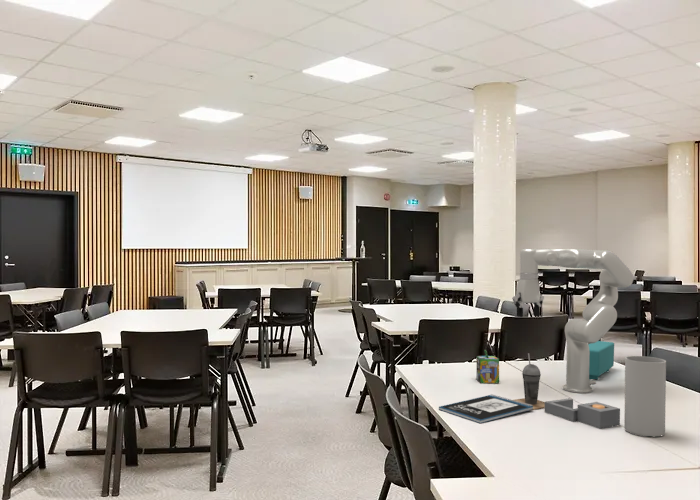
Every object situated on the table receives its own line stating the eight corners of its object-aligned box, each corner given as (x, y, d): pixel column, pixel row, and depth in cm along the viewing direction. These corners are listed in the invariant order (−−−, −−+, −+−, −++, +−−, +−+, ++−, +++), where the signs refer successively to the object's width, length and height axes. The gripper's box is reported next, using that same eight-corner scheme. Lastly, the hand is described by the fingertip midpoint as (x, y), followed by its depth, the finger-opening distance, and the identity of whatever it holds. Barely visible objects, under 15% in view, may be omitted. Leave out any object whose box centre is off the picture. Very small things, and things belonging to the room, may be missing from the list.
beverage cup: (541, 405, 232) (542, 355, 232) (522, 404, 233) (523, 354, 233) (539, 401, 239) (540, 352, 239) (520, 400, 241) (521, 351, 241)
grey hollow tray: (569, 408, 231) (569, 393, 231) (621, 425, 209) (621, 408, 209) (544, 412, 225) (544, 396, 225) (596, 429, 203) (596, 412, 203)
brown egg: (597, 414, 214) (597, 403, 214) (606, 417, 210) (607, 406, 210) (589, 416, 212) (590, 405, 212) (599, 419, 208) (599, 407, 208)
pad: (530, 398, 245) (530, 397, 245) (555, 406, 233) (555, 405, 233) (504, 402, 239) (504, 400, 239) (529, 410, 226) (529, 409, 226)
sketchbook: (438, 410, 226) (438, 404, 226) (491, 398, 243) (491, 393, 243) (480, 423, 209) (480, 417, 209) (534, 409, 226) (534, 404, 226)
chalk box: (499, 383, 272) (499, 352, 272) (479, 383, 272) (480, 351, 272) (495, 379, 281) (495, 348, 281) (475, 379, 282) (476, 348, 282)
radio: (593, 368, 312) (593, 340, 312) (614, 371, 306) (614, 342, 306) (575, 379, 285) (576, 348, 285) (598, 382, 279) (598, 350, 279)
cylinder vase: (663, 440, 192) (664, 364, 192) (622, 433, 199) (622, 360, 199) (666, 430, 203) (667, 358, 203) (626, 424, 210) (627, 354, 210)
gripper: (537, 276, 264) (536, 314, 264) (507, 276, 256) (507, 316, 256) (549, 277, 257) (549, 316, 257) (519, 277, 249) (519, 317, 249)
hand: (528, 316), depth 256 cm, fingers open, 9 cm apart
